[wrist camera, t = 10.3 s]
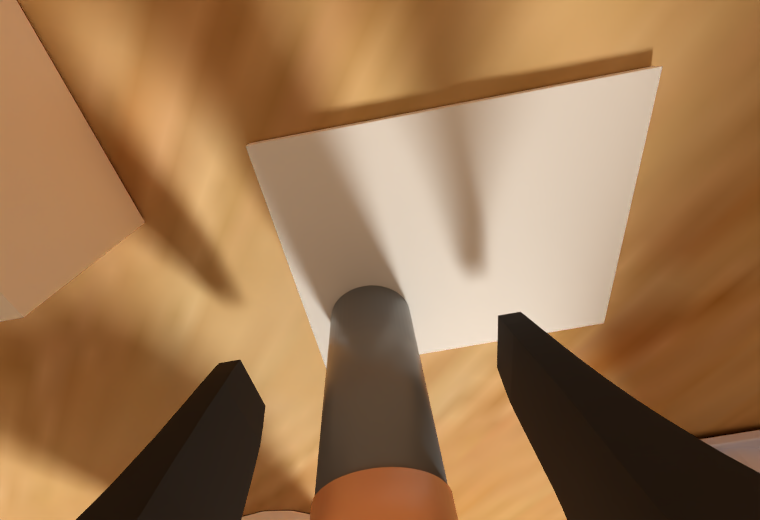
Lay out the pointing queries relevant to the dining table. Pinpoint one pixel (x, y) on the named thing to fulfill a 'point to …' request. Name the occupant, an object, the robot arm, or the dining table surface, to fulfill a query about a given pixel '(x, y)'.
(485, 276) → the paper
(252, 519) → the foam cup
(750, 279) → the dining table surface
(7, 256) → the rectangular block
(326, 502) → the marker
